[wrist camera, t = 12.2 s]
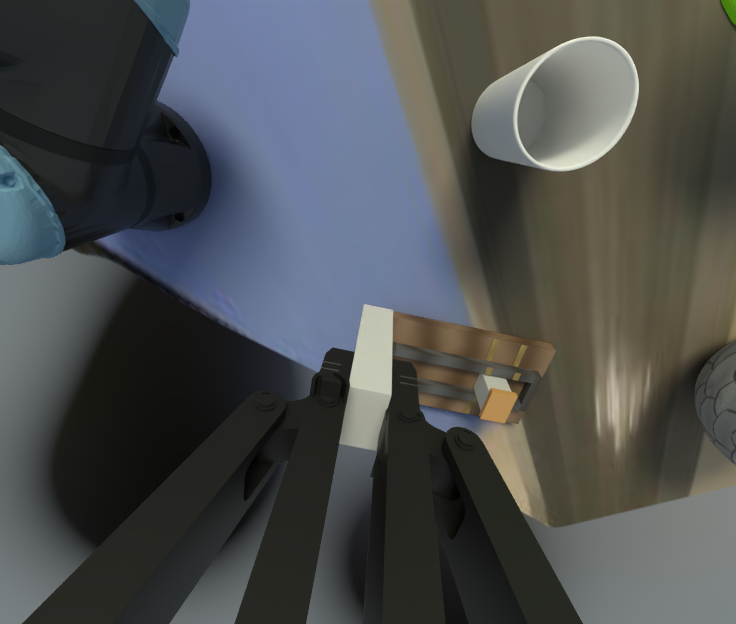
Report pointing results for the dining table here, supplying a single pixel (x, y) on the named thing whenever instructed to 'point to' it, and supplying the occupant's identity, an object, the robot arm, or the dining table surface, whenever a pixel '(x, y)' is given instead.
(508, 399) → the fader knob
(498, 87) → the cup
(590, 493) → the dining table surface
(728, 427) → the decorative sphere
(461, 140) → the dining table surface
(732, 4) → the wineglass
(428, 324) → the wooden tray
